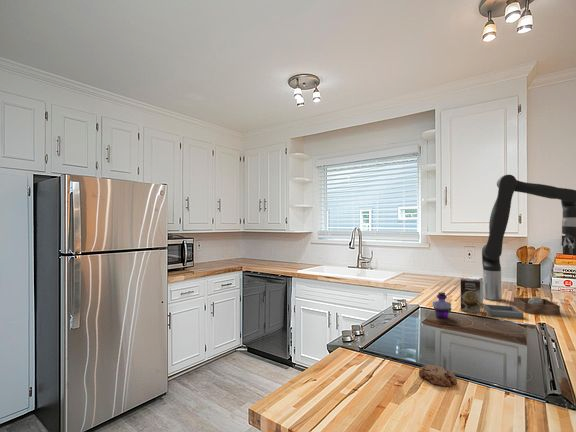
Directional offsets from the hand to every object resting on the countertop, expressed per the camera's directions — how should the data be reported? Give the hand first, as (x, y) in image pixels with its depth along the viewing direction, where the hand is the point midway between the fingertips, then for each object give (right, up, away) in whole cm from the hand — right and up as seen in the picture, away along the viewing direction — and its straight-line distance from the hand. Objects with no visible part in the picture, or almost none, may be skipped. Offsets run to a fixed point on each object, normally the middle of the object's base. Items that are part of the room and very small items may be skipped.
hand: (570, 254), depth 179 cm
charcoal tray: (-49, -28, -17) cm, 59 cm away
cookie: (-114, -27, -83) cm, 144 cm away
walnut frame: (-27, -28, -10) cm, 40 cm away
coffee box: (-62, -28, -11) cm, 69 cm away
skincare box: (-51, -29, +4) cm, 59 cm away
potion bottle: (-83, -28, -22) cm, 90 cm away
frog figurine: (-27, -28, -10) cm, 41 cm away
